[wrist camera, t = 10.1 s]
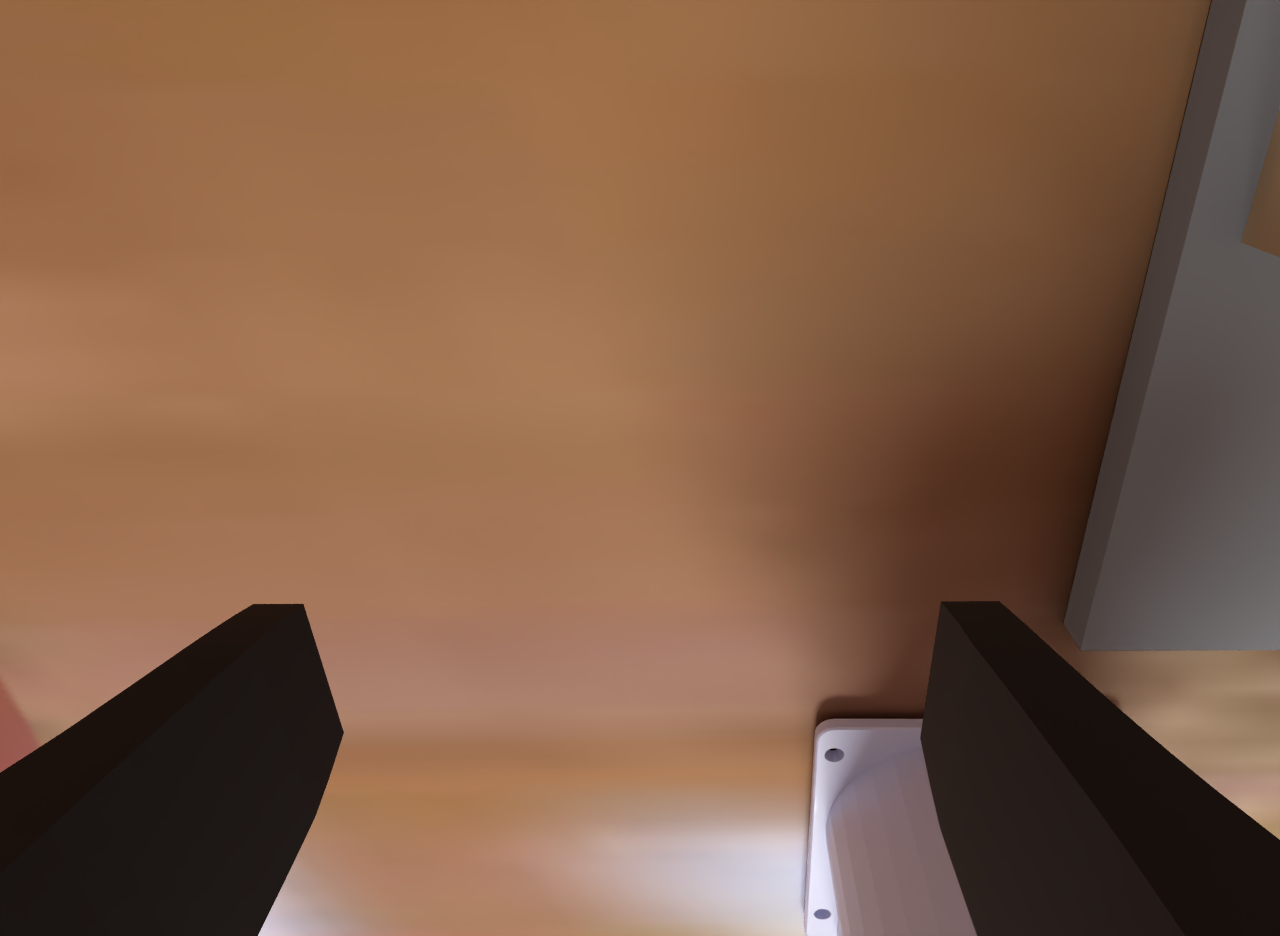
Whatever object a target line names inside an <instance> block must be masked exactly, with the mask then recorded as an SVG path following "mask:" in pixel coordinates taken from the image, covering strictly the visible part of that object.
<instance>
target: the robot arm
mask: <svg viewBox="0 0 1280 936" xmlns="http://www.w3.org/2000/svg"><path fill="white" fill-rule="evenodd" d="M343 733H344V732H343V729H342V725H341V722H340V719H339V716H338V713H337V710H336V706H335V703H334V700H333V697H332V694H331V690H330V687H329V684H328V681H327V678H326V675H325V671H324V668H323V665H322V662H321V659H320V655H319V652H318V649H317V646H316V643H315V640H314V636H313V633H312V630H311V627H310V624H309V621H308V617H307V614H306V611H305V608H304V605H303V604H253V605H251V606H249V607H248V608H246V609H244V610H243V611H241V612H239V613H238V614H236V615H234V616H233V617H231V618H230V619H228V620H226V621H225V622H223V623H222V624H220V625H219V626H217V627H216V628H214V629H213V630H211V631H210V632H208V633H207V634H205V635H204V636H202V637H201V638H199V639H198V640H196V641H195V642H193V643H192V644H191V645H189V646H188V647H186V648H185V649H183V650H182V651H180V652H179V653H177V654H176V655H175V656H173V657H172V658H170V659H169V660H167V661H166V662H164V663H163V664H162V665H160V666H159V667H157V668H156V669H154V670H153V671H151V672H150V673H149V674H147V675H146V676H144V677H143V678H141V679H140V680H138V681H137V682H136V683H134V684H133V685H131V686H130V687H128V688H127V689H125V690H124V691H122V692H121V693H119V694H118V695H117V696H115V697H114V698H112V699H111V700H109V701H108V702H106V703H105V704H103V705H102V706H101V707H99V708H98V709H96V710H95V711H93V712H92V713H90V714H89V715H87V716H86V717H85V718H83V719H82V720H80V721H79V722H77V723H76V724H74V725H73V726H71V727H70V728H68V729H67V730H66V731H64V732H63V733H61V734H60V735H58V736H56V737H55V738H53V739H52V740H50V741H49V742H47V743H46V744H44V745H42V746H41V747H39V748H38V749H36V750H35V751H33V752H32V753H30V754H29V755H27V756H26V757H24V758H23V759H21V760H19V761H18V762H16V763H15V764H13V765H12V766H10V767H8V768H7V769H5V770H4V771H2V772H1V773H0V936H258V934H259V932H260V930H261V928H262V926H263V924H264V922H265V920H266V918H267V916H268V914H269V912H270V910H271V908H272V905H273V903H274V901H275V899H276V897H277V895H278V893H279V891H280V889H281V887H282V885H283V883H284V881H285V879H286V877H287V875H288V873H289V871H290V869H291V867H292V864H293V862H294V860H295V858H296V856H297V854H298V852H299V850H300V848H301V846H302V844H303V842H304V840H305V837H306V835H307V833H308V831H309V829H310V827H311V825H312V822H313V820H314V818H315V816H316V813H317V810H318V808H319V805H320V802H321V799H322V796H323V794H324V791H325V788H326V785H327V783H328V780H329V777H330V774H331V771H332V768H333V764H334V761H335V758H336V755H337V752H338V749H339V746H340V743H341V740H342V736H343ZM833 748H837V750H833V751H830V750H829V749H833ZM804 928H805V934H806V936H1280V840H1279V839H1278V838H1277V837H1275V836H1274V835H1273V834H1271V833H1270V832H1269V831H1268V830H1266V829H1265V828H1264V827H1262V826H1261V825H1260V824H1259V823H1257V822H1256V821H1255V820H1254V819H1252V818H1251V817H1250V816H1248V815H1247V814H1246V813H1245V812H1243V811H1242V810H1241V809H1239V808H1238V807H1237V806H1236V805H1234V804H1233V803H1232V802H1231V801H1229V800H1228V799H1227V798H1225V797H1224V796H1223V795H1222V794H1220V793H1219V792H1218V791H1217V790H1215V789H1214V788H1213V787H1211V786H1210V785H1209V784H1208V783H1207V782H1205V781H1204V780H1203V779H1202V778H1200V777H1199V776H1198V775H1197V774H1196V773H1194V772H1193V771H1192V770H1191V769H1189V768H1188V767H1187V766H1186V765H1185V764H1183V763H1182V762H1181V761H1180V760H1179V759H1177V758H1176V757H1175V756H1174V755H1172V754H1171V753H1170V752H1169V751H1168V750H1167V749H1165V748H1164V747H1163V746H1162V745H1161V744H1159V743H1158V742H1157V741H1156V740H1155V739H1154V738H1152V737H1151V736H1150V735H1149V734H1148V733H1147V732H1145V731H1144V730H1143V729H1142V728H1141V727H1140V726H1138V725H1137V724H1136V723H1135V722H1134V721H1133V720H1131V719H1130V718H1129V717H1128V716H1127V715H1126V714H1124V713H1123V712H1122V711H1121V710H1120V709H1119V708H1118V707H1117V706H1115V705H1114V704H1113V703H1112V702H1111V701H1110V700H1109V699H1107V698H1106V697H1105V696H1104V695H1103V694H1102V693H1101V692H1100V691H1098V690H1097V689H1096V688H1095V687H1094V686H1093V685H1092V684H1091V683H1089V682H1088V681H1087V680H1086V679H1085V678H1084V677H1083V676H1082V675H1081V674H1079V673H1078V672H1077V671H1076V670H1075V669H1074V668H1073V667H1072V666H1071V665H1069V664H1068V663H1067V662H1066V661H1065V660H1064V659H1063V658H1062V657H1061V656H1060V655H1058V654H1057V653H1056V652H1055V651H1054V650H1053V649H1052V648H1051V647H1050V646H1049V645H1047V644H1046V643H1045V642H1044V641H1043V640H1042V639H1041V638H1040V637H1039V636H1038V635H1036V634H1035V633H1034V632H1033V631H1032V630H1031V629H1030V628H1029V627H1028V626H1027V625H1025V624H1024V623H1023V622H1022V621H1021V620H1020V619H1019V618H1018V617H1017V616H1015V615H1014V614H1013V613H1012V612H1011V611H1010V610H1009V609H1007V608H1006V607H1005V606H1004V605H1003V604H1002V603H1001V602H999V601H968V602H941V606H940V612H939V619H938V625H937V632H936V638H935V645H934V651H933V658H932V664H931V671H930V677H929V684H928V690H927V696H926V703H925V709H924V716H923V719H828V720H825V721H823V722H821V723H820V724H819V725H818V726H817V727H816V730H815V738H814V756H813V773H812V790H811V807H810V825H809V842H808V859H807V876H806V894H805V911H804Z"/></svg>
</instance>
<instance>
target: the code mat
mask: <svg viewBox="0 0 1280 936" xmlns="http://www.w3.org/2000/svg"><path fill="white" fill-rule="evenodd" d="M1279 109H1280V0H1212V3H1211V7H1210V11H1209V15H1208V19H1207V24H1206V28H1205V32H1204V36H1203V40H1202V45H1201V49H1200V53H1199V57H1198V61H1197V66H1196V70H1195V74H1194V78H1193V82H1192V86H1191V91H1190V95H1189V99H1188V103H1187V107H1186V112H1185V116H1184V120H1183V124H1182V128H1181V133H1180V137H1179V141H1178V145H1177V149H1176V154H1175V158H1174V162H1173V166H1172V170H1171V175H1170V179H1169V183H1168V187H1167V191H1166V196H1165V200H1164V204H1163V208H1162V212H1161V217H1160V221H1159V225H1158V229H1157V233H1156V238H1155V242H1154V246H1153V250H1152V254H1151V259H1150V263H1149V267H1148V271H1147V275H1146V280H1145V284H1144V288H1143V292H1142V296H1141V300H1140V305H1139V309H1138V313H1137V317H1136V321H1135V326H1134V330H1133V334H1132V338H1131V342H1130V347H1129V351H1128V355H1127V359H1126V363H1125V368H1124V372H1123V376H1122V380H1121V384H1120V389H1119V393H1118V397H1117V401H1116V405H1115V410H1114V414H1113V418H1112V422H1111V426H1110V431H1109V435H1108V439H1107V443H1106V447H1105V452H1104V456H1103V460H1102V464H1101V468H1100V473H1099V477H1098V481H1097V485H1096V489H1095V494H1094V498H1093V502H1092V506H1091V510H1090V514H1089V519H1088V523H1087V527H1086V531H1085V535H1084V540H1083V544H1082V548H1081V552H1080V556H1079V561H1078V565H1077V569H1076V573H1075V577H1074V582H1073V586H1072V590H1071V594H1070V598H1069V603H1068V607H1067V611H1066V615H1065V619H1064V625H1065V627H1066V629H1067V630H1068V632H1069V633H1070V635H1071V637H1072V638H1073V640H1074V642H1075V643H1076V645H1077V646H1078V648H1079V650H1080V651H1144V650H1280V257H1277V256H1275V255H1272V254H1269V253H1267V252H1264V251H1262V250H1259V249H1256V248H1254V247H1251V246H1248V245H1246V244H1243V243H1241V241H1242V237H1243V234H1244V230H1245V227H1246V223H1247V220H1248V216H1249V213H1250V209H1251V206H1252V203H1253V199H1254V196H1255V192H1256V189H1257V185H1258V182H1259V178H1260V175H1261V171H1262V168H1263V164H1264V161H1265V157H1266V154H1267V150H1268V147H1269V143H1270V140H1271V136H1272V133H1273V130H1274V126H1275V123H1276V119H1277V116H1278V112H1279Z"/></svg>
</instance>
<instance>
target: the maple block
mask: <svg viewBox="0 0 1280 936" xmlns="http://www.w3.org/2000/svg"><path fill="white" fill-rule="evenodd" d="M1241 243H1243V244H1246V245H1248V246H1251V247H1254V248H1256V249H1259V250H1262V251H1264V252H1267V253H1269V254H1272V255H1275V256H1277V257H1280V109H1279V112H1278V116H1277V119H1276V123H1275V126H1274V130H1273V133H1272V136H1271V140H1270V143H1269V147H1268V150H1267V154H1266V157H1265V161H1264V164H1263V168H1262V171H1261V175H1260V178H1259V182H1258V185H1257V189H1256V192H1255V196H1254V199H1253V203H1252V206H1251V209H1250V213H1249V216H1248V220H1247V223H1246V227H1245V230H1244V234H1243V237H1242V241H1241Z"/></svg>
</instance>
